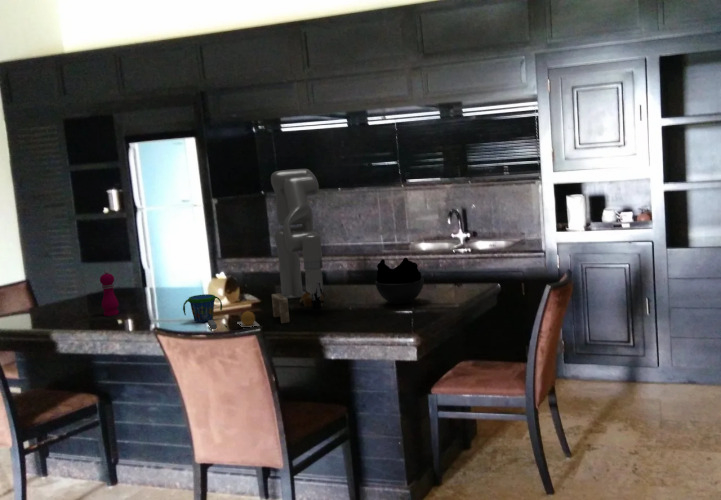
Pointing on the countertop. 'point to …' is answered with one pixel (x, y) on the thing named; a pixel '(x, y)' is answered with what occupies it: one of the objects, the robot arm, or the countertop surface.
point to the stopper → (212, 324)
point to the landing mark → (248, 325)
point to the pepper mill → (109, 295)
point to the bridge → (280, 307)
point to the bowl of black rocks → (399, 282)
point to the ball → (248, 318)
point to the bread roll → (308, 300)
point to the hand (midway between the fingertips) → (316, 309)
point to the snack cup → (202, 307)
